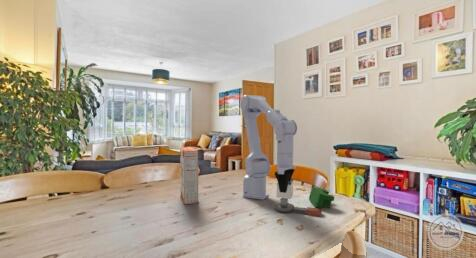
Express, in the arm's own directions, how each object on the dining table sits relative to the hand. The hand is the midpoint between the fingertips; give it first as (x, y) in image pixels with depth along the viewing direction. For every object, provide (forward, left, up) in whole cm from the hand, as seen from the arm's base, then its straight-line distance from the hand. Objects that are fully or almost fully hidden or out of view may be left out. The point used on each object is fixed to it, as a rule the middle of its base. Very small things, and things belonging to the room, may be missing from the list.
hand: (284, 190), depth 93 cm
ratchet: (+5, 0, -7) cm, 9 cm away
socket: (0, 0, -2) cm, 2 cm away
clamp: (+12, +12, -8) cm, 19 cm away
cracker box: (-39, -3, -8) cm, 40 cm away
